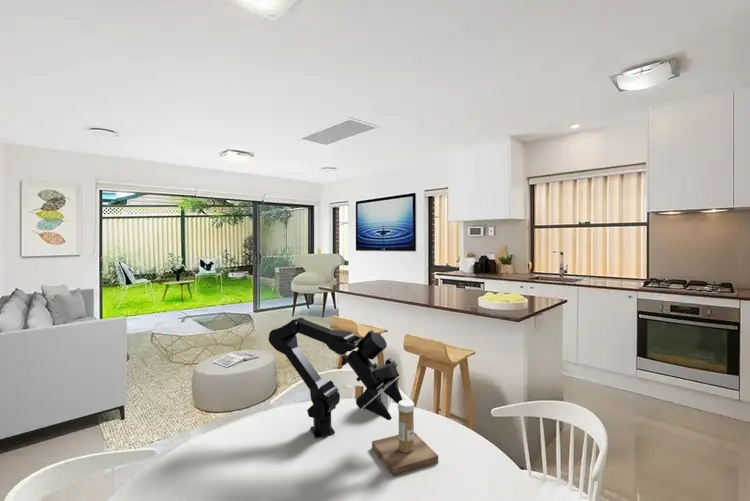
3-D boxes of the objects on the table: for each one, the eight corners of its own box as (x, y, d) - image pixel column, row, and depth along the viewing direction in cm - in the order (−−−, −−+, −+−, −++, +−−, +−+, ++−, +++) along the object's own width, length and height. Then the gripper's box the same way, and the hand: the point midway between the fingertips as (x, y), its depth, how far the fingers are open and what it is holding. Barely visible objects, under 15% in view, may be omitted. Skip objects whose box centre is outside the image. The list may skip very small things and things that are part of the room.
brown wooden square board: (372, 447, 107) (372, 441, 107) (413, 437, 113) (413, 430, 112) (393, 476, 94) (393, 468, 94) (438, 462, 100) (438, 455, 100)
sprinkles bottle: (415, 453, 101) (415, 405, 100) (399, 453, 101) (399, 406, 100) (412, 443, 105) (412, 398, 105) (397, 444, 105) (397, 399, 105)
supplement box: (387, 412, 129) (387, 377, 128) (367, 410, 130) (367, 376, 130) (391, 403, 136) (391, 370, 136) (371, 401, 138) (371, 368, 137)
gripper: (365, 362, 97) (403, 411, 93) (393, 344, 114) (426, 385, 109) (341, 385, 101) (375, 433, 97) (371, 364, 118) (402, 404, 113)
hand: (397, 412), depth 104 cm, fingers open, 9 cm apart
